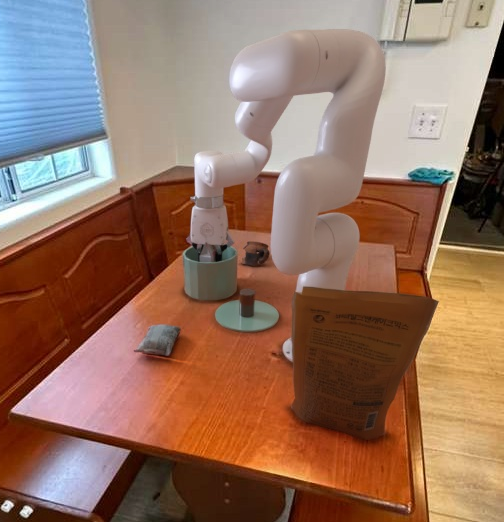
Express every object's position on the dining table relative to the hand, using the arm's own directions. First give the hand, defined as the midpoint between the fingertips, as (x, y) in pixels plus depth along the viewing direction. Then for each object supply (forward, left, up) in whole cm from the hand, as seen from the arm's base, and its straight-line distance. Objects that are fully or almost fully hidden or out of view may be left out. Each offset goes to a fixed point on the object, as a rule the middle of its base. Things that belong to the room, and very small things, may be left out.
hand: (210, 264), depth 118 cm
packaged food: (-34, +3, -9) cm, 35 cm away
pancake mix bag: (-49, -38, -9) cm, 62 cm away
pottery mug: (+24, -10, -9) cm, 28 cm away
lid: (-14, -14, -8) cm, 21 cm away
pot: (0, 0, -8) cm, 8 cm away
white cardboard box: (0, 0, -3) cm, 3 cm away
